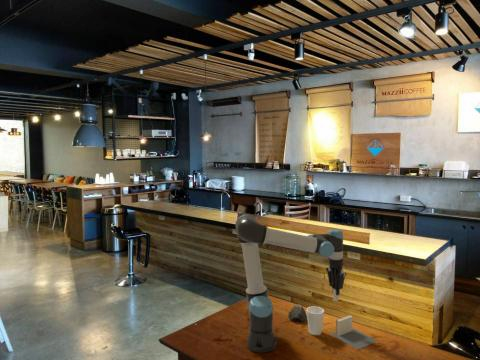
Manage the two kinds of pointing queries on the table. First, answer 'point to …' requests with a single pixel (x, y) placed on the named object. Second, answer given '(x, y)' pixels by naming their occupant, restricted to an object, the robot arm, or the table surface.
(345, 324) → the tile
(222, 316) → the table surface
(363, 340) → the mat
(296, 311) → the fossil
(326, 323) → the table surface
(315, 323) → the foam cup
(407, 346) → the table surface
